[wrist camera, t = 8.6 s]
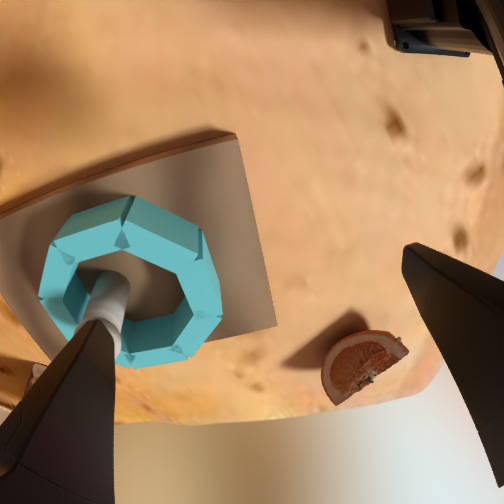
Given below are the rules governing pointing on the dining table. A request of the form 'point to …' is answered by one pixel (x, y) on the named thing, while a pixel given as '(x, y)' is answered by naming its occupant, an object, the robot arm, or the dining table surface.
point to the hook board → (133, 267)
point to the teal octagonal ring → (150, 249)
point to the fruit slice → (359, 362)
